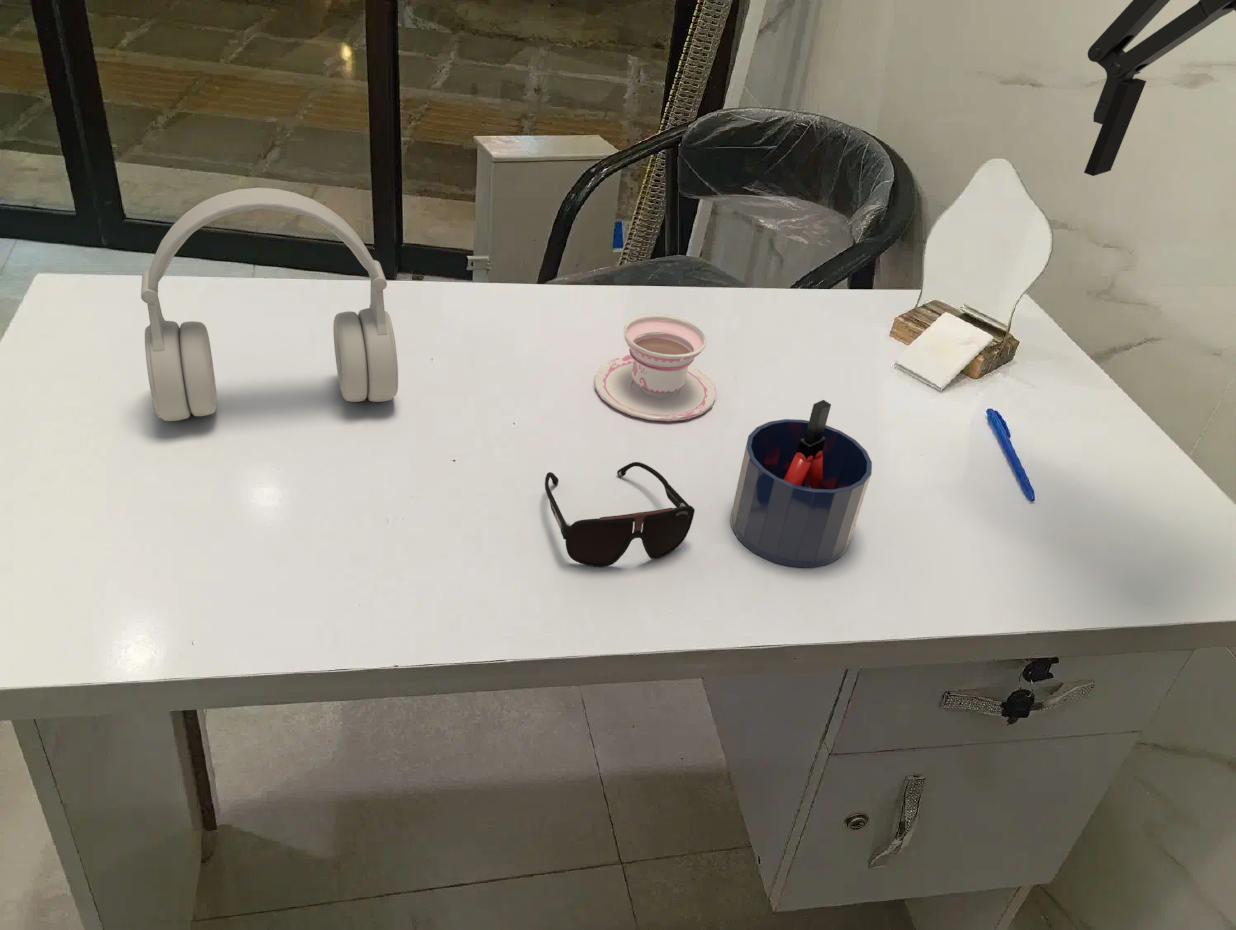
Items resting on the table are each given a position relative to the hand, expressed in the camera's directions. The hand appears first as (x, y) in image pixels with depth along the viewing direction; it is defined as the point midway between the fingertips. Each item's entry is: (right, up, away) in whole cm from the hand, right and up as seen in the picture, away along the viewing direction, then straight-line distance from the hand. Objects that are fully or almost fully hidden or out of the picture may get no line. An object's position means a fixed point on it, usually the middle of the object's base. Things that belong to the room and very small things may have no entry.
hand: (1186, 204), depth 70 cm
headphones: (-70, -13, +19) cm, 74 cm away
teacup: (-36, -11, +28) cm, 47 cm away
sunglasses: (-41, -23, +10) cm, 48 cm away
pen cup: (-26, -24, +12) cm, 37 cm away
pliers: (-26, -23, +12) cm, 37 cm away
